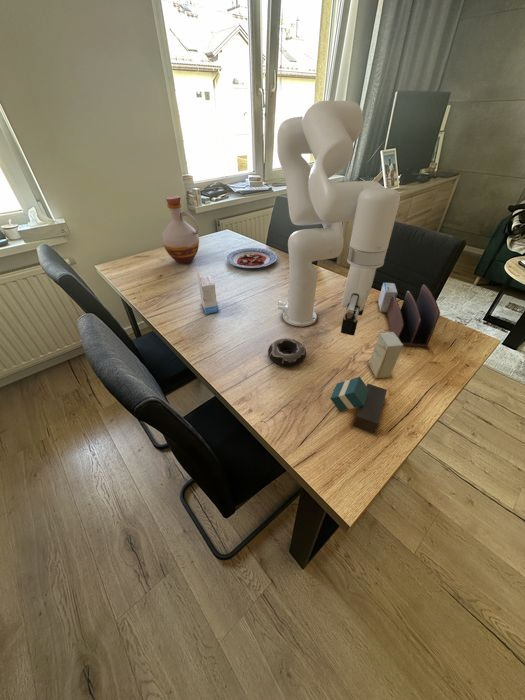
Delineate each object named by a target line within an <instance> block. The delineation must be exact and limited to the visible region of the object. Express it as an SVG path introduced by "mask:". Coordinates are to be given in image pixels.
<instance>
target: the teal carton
mask: <svg viewBox="0 0 525 700" xmlns="http://www.w3.org/2000/svg"><path fill="white" fill-rule="evenodd" d="M368 391H369V389H368V387H367V384H366V383H365V381H364V380H363V379H362V378H361V376H357V377H353V378H350V379H346V380H344V381H340V382H337V383H336V384H335V387H334V389H333V391H332V393H331V395H330V397H329V398H330V400H331V402H332V403H333V404H334V405H335V407H336V408H337V410H339V411H340V412H342V411H346V410H352V409H356V408H359V407H361V406H364V404H365V401H366V398H367V395H368Z"/></svg>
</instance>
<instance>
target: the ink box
mask: <svg viewBox="0 0 525 700" xmlns="http://www.w3.org/2000/svg"><path fill="white" fill-rule="evenodd" d="M196 273H197V280H198V287H199V288H198V289H199V293H200V300H201V301H200V302H201V305H202V308H203V310H204V313H205V315H209V314H214V313H218V312H219V311H218V303H217V302H218V301H217V291H216V284H215V282H214V280H213V277H211V275H206V276H201V274H200V273H199V271H198V270H196Z"/></svg>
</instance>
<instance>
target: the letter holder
mask: <svg viewBox="0 0 525 700" xmlns="http://www.w3.org/2000/svg"><path fill="white" fill-rule="evenodd" d="M431 291H432V290H431V289H430V288H429V287H428V286H427V285H426V284H425V283H424V284H422V285H421V287H420V291H419V294H418V297H417V300H416V299H415V298H414V295H413V294H412V292H411V291H410V290H407V291H406V293H405V296H404V299H403V302H402V305H401V306H400V304H399V302H398V300H397V297H396V298H395V296H393V297H392V299H391V302H390V304H389V307H388V310H387V312H386V316H387V319H388V323H389V327H390V332H394V333H395V334H396V336H397V337H398V338H399V340H400V341H401V343H402V344H403V346H409V347H419V348H427V347H428V346H429V343H430V341H431V339H432V335H433V333H434V331H435V328H436V326H437V323H438V321H439V318H440V315H441V311H440V307H439V306H438V302H437V301H436V299H435V296H434V294H433V293H432V292H431Z"/></svg>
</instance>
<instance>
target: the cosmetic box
mask: <svg viewBox="0 0 525 700" xmlns="http://www.w3.org/2000/svg"><path fill="white" fill-rule="evenodd" d="M403 347H404V345H403V344H402V343H401V341H400V340H399V338H398V337H397V336H396V334H395V333H394V332H392V331H385V332H379V333H378V336H377V340H376V341H375V345H374V347H373V351H372V354H371V356H370V359H369V362H368V366H369V368H370V369H371V371H372V373H373V375H374V377H375V378H376V379H381V378H382V379H383V378H390V377H391V376H392V372H393V369H395V366H396V363H397V362H398V361H397V360H399V359H398V358H399V357H400V354H401V352H402V349H403Z"/></svg>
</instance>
